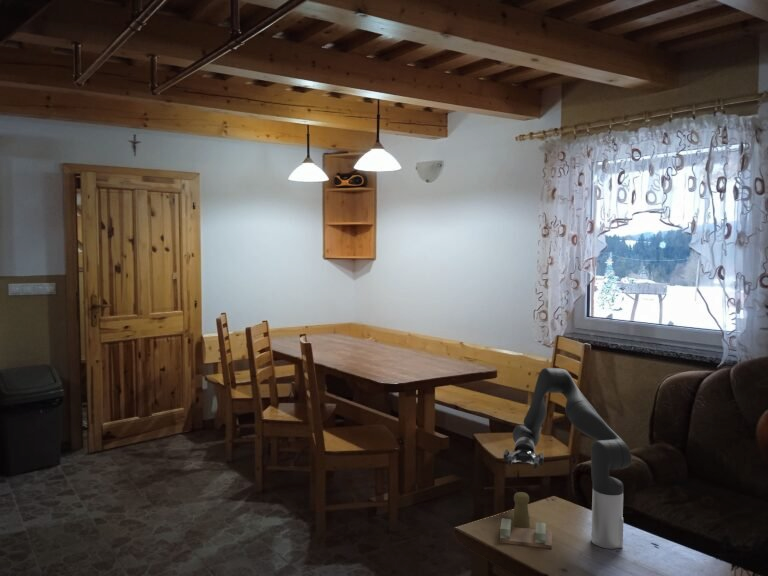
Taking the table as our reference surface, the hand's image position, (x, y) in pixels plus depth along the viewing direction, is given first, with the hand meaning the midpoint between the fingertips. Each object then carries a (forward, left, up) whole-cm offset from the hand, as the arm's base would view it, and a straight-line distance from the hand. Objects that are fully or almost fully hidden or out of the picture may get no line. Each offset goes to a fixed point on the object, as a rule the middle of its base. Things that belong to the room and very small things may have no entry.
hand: (522, 464), depth 220 cm
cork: (0, +11, -18) cm, 21 cm away
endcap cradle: (-1, +20, -17) cm, 27 cm away
